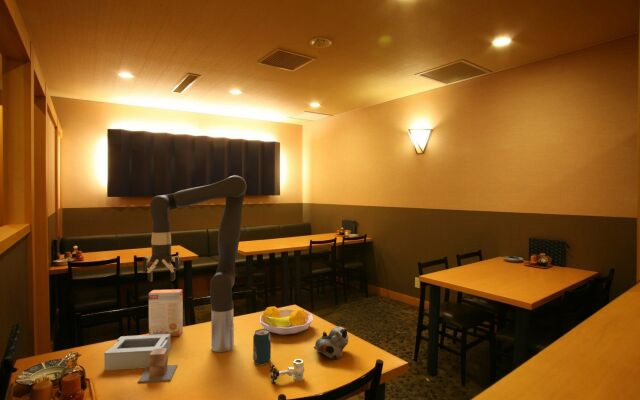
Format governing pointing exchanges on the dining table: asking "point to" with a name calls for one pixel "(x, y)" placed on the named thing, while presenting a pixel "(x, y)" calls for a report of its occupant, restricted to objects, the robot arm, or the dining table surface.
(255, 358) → the soda can
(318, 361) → the dining table surface
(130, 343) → the box
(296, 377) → the valve
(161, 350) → the walnut block
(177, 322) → the cracker box
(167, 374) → the rubber pad
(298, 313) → the fruit bowl
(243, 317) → the dining table surface
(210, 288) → the robot arm
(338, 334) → the grey metal pump housing
